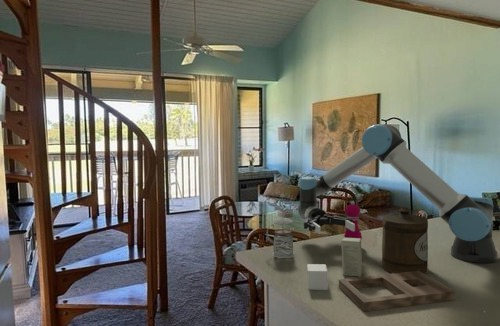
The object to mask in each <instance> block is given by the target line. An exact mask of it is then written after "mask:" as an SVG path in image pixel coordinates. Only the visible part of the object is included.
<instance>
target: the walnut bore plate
mask: <svg viewBox="0 0 500 326" xmlns="http://www.w3.org/2000/svg"><path fill="white" fill-rule="evenodd" d="M378 286H384V287H385V289H388V290H389V291H391V292H392V293H393V294H392V295H384V296H377V297H368V298H367V297H366V296H365V295H364V294H362V293H361V291H359V290H358V289H362V288H369V287H370V288H372V287H378ZM338 288H339V289H340V290H341V291H342V292H343V293H344V294H346V295H347V297H349V298H350V300H351V301H353V303H354V304H356V305H357V306H358V307H359V308H360V309H361V310H362V311H363V312H370V311H377V310H385V309H386V310H387V309H393V308H394V309H395V308H401V307H409V306H410V307H411V306H417V305H425V304H433V303H434V304H435V303H441V302H448V301H449V302H451V301H455V300H456V291H455V290H453V289H452V288H450V287H449V286H446V285H444V284H443V283H441V282H439V281H438V280H436V279H434V278H433V277H430V276H429V275H427V274H423V273H421V272H420V271H413V272H403V273H386V274H378V275H377V274H376V275H369V276H367V275H366V276H361V277H359V276H356V277H350V278H341V279H338Z"/></svg>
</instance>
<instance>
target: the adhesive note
mask: <svg viewBox="0 0 500 326" xmlns="http://www.w3.org/2000/svg"><path fill="white" fill-rule="evenodd" d="M306 269H307V270H306V272H307V273H306V274H307V277H306V278H307V287H308V289H307V290H315V291H316V290H320V291H321V290H322V291H323V290H325V291H326V290H327V291H328V289H329V287H328V283H329V282H328V268H327V265H326V264H323V263H322V264H320V263H313V264H312V263H307V265H306Z"/></svg>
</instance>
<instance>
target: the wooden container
mask: <svg viewBox="0 0 500 326" xmlns="http://www.w3.org/2000/svg"><path fill="white" fill-rule="evenodd" d="M398 211H399V212H400V213H390V214H386V215H384V216H383V217H382V243H381V244H382V245H381V253H382V254H381V256H382V257H381V258H382V259H381V266H382V267H381V268H383V269H384V270H385V271H387V272H389V273H390V274H394V273H403V272H413V271H420V272H421V273H423V274H425V275H427V274H426V273H428V267H429V265H428V261H429V241H428V238H429V234H428V229H429V219H428V218H427V217H424V216H421V215H417V214H410V208H408V207H406V206H402V207H400V208H399V209H398Z"/></svg>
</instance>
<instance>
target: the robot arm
mask: <svg viewBox="0 0 500 326" xmlns="http://www.w3.org/2000/svg"><path fill="white" fill-rule="evenodd" d="M361 144H362V147H360V148H359V149H357V150H356V151H355V152H354V153H352V154H350V155H348V157H346V158H345V159H343V160H342V161H341V162H339V163H338V164H337V165H335V166H334V167H332V168H331V169H329V170H328V171H326V172H325V173H324V174H323V175H321V176H320V177H318V178H316V177H314V176H313V177H312V176H307V177H306V176H305V177H301V178H300V180H299V204H298V206H297V214H298V215H299V216H300V217H301V218H302V219H304V221H303V229H305V230H307V229H308V231H309V232H313V231H314V232H315V233H317V234H319V235H321V231H322V230H321V229H322V227H323V226H326V225H328V226H333V225H336V226H341V227H345V228H346V229H347V228H348V229H350V230H351V231H355V224H354V223H353V219H349V218H347V217H344V216H338V215H335V214H334V215H333V216H332V215H328V214H327V212H326V210H324V209H321V208H320V207H317V203H318V201H317V198H318V196H322V195H325V194H327V193H329V192H330V191H331V190H332V189H333V188H334V187H335V186H337V185H339V184H340V183H341V182H343V181H345V180H347V179H348V178H350V177H351V176H352V175H354V174H355V173H357V172H358V171H360V170H361V169H363V168H364V167H365V166H367V165H369V164H370V163H372V162H373V161H375V160H376V159H378V160H379V161H380V162H381V163H382V164H385V165H387V164H388V165H390V166H391V167H392V168H393V169H395V170H396V171H397V172H398V173H399V175H401V176H402V177H403V178H404V179H406V180H407V182H408V183H410V184H411V185H412V186H413V187H414V188H415V189H416V190H418V192H419V193H420V194H421V195H423V196H424V197H425V199H427V200H428V201H429V202H430V203H431V204H432V205H434V206H435V208H437V210H439V217H440V218H441V219H442V220H443V221H444V222H445V223H446V224H447V225H448V226H449V229H450V231H451V233H452V234H453V235H454V236H455V237H454V239H453V243H452V245H451V247H450V255H451V256H452V257H454V258H456V259H458V260H462V261H466V262H472V263H478V264H479V263H480V264H489V263H490V264H491V263H494V262H495V263H496V262H497V261H498V259H499V258H498V254H499V253H498V251H497V249H496V245H495V243H494V240H493V222H494V221H493V220H494V219H493V217H494V215H493V214H494V211H493V210H494V203H493V202H494V201H493V200H492V199H491V198H490V197H483V196H482V197H479V196H469V195H468V194H466V193H465V194H464V193H459V192H457V191H456V190H455V189H454V188H452V187H451V186H450V185H449V184H448V183H447V182H445V180H444V179H443V178H441V177H440V176H439V175H438V174H437V173H436V172H434V171H433V170H432V169H431V168H430V167H429V166H428V165H427V164H425V162H423V161H422V160H421V159H420V158H419V157H418V156H416V154H414V153H413V152H412V151H411V150H410V149H408V148H407V147H408V146H407V141H406V140H404V139H403V138H402V134H401V132H400V131H399V129H398V128H396V126H393V125H390V124H381V123H380V124H379V123H377V124H374V125H371V126H369V127H367V128H366V129H365V130H364V132H363V133H362V136H361Z"/></svg>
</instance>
